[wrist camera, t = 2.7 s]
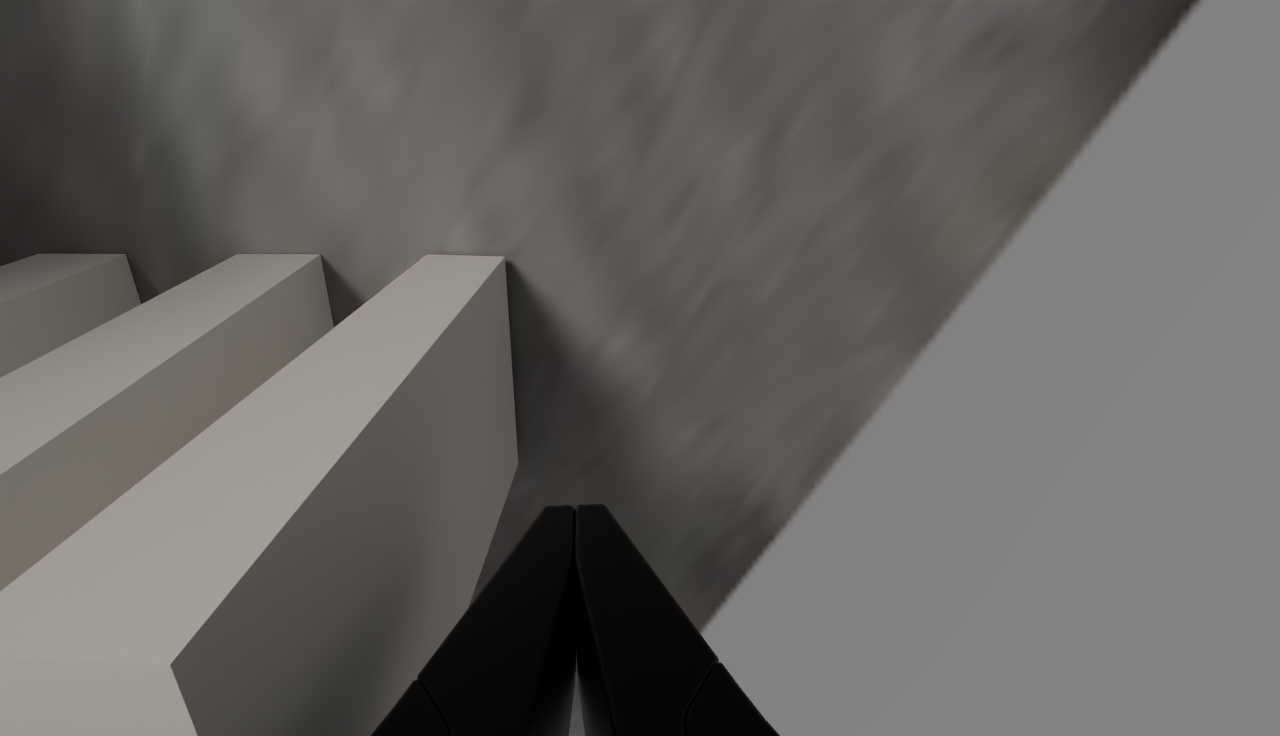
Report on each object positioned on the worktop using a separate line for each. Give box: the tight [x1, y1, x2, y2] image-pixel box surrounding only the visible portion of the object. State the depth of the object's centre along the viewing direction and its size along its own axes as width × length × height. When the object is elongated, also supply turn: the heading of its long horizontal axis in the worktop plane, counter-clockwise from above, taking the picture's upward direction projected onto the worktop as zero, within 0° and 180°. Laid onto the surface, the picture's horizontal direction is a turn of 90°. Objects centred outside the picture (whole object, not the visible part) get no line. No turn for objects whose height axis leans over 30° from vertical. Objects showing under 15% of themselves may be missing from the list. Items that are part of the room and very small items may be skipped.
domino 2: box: [0, 254, 518, 736], centre depth 10 cm, size 2×5×10 cm, turn 179°
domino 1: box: [0, 254, 334, 591], centre depth 9 cm, size 2×5×10 cm, turn 179°
